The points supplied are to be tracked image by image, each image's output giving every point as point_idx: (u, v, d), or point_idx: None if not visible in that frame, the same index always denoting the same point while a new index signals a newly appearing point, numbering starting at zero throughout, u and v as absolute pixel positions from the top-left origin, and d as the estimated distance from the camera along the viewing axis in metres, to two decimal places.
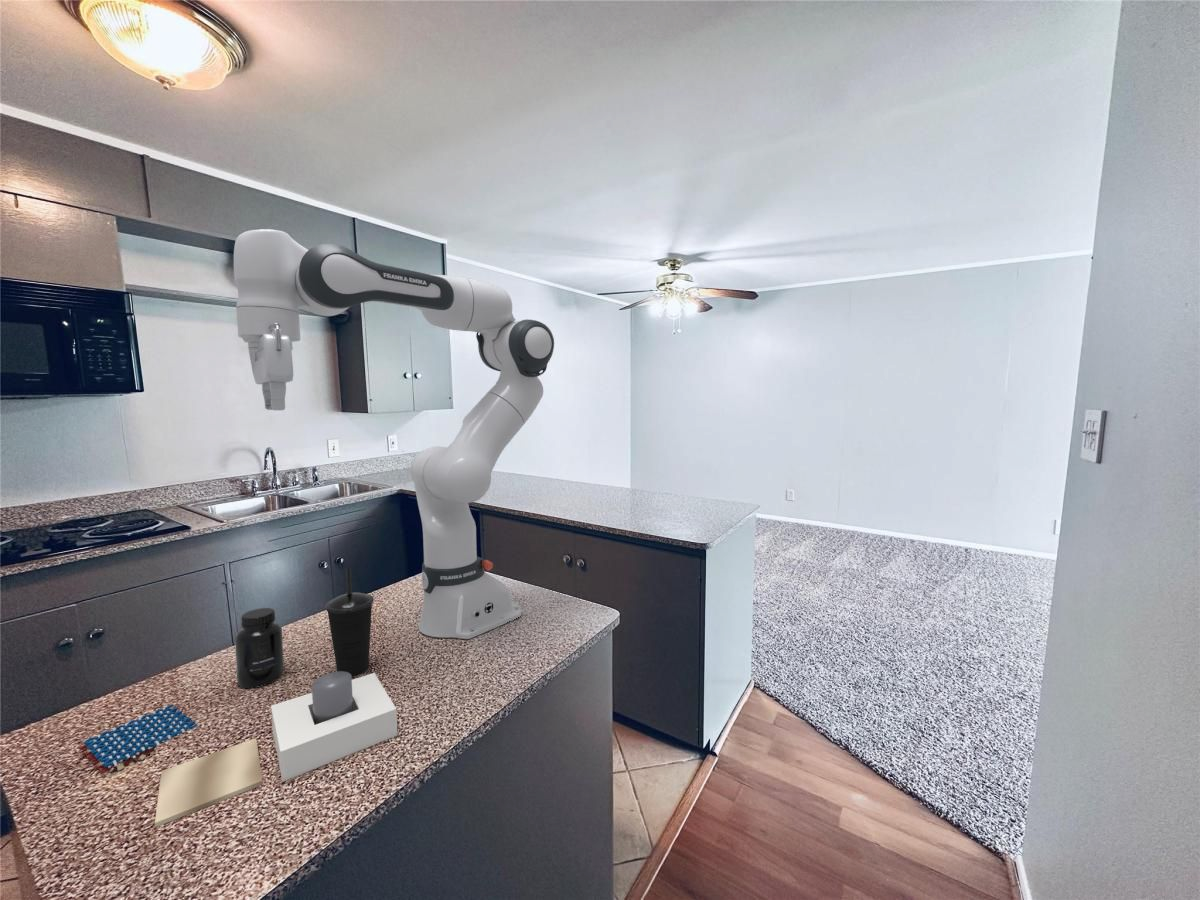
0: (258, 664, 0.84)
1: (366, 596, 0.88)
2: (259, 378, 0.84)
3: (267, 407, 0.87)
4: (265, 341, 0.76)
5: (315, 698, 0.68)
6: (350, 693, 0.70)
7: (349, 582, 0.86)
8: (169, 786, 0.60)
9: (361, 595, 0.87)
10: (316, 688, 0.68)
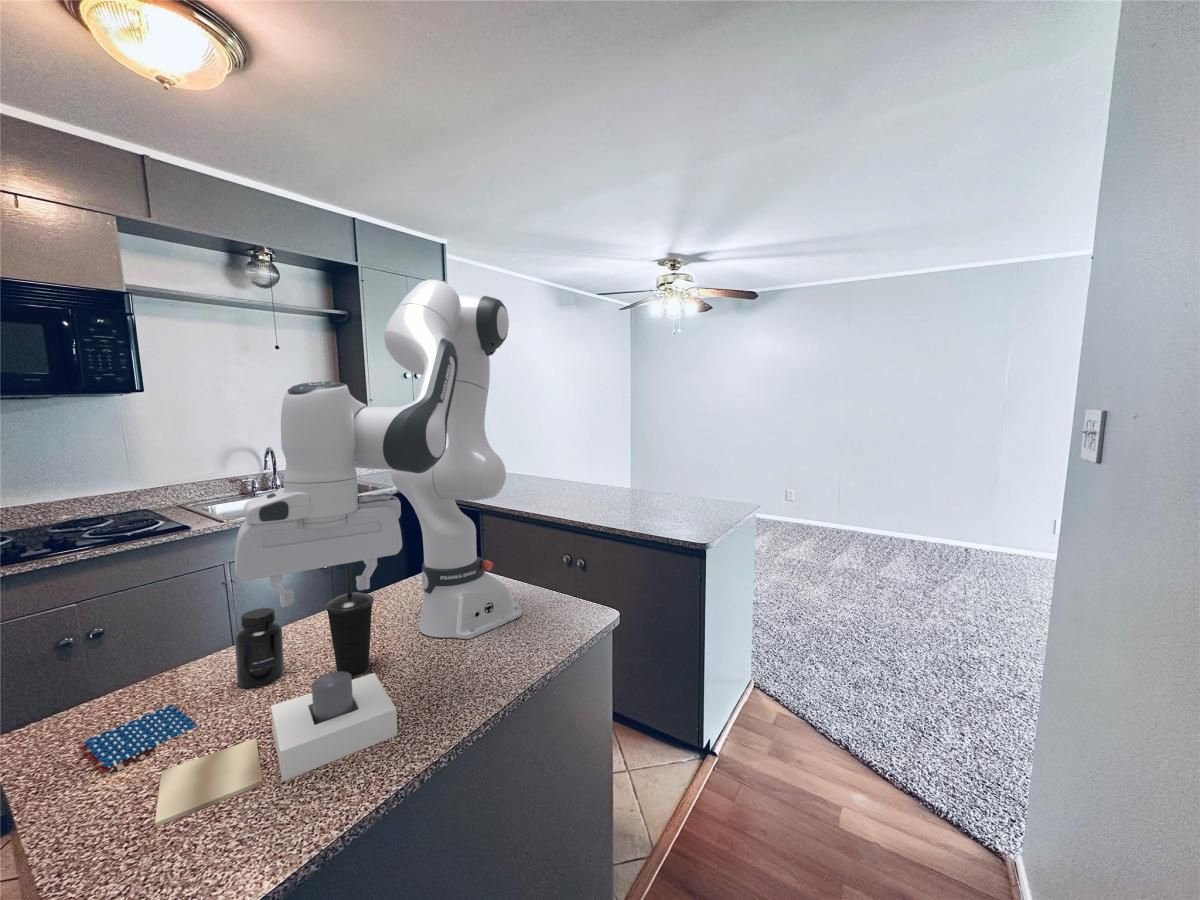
0: (258, 664, 0.83)
1: (366, 596, 0.88)
2: (320, 563, 0.66)
3: (293, 601, 0.66)
4: (395, 514, 0.72)
5: (315, 698, 0.68)
6: (350, 693, 0.70)
7: (349, 582, 0.86)
8: (169, 786, 0.60)
9: (361, 595, 0.87)
10: (316, 688, 0.68)
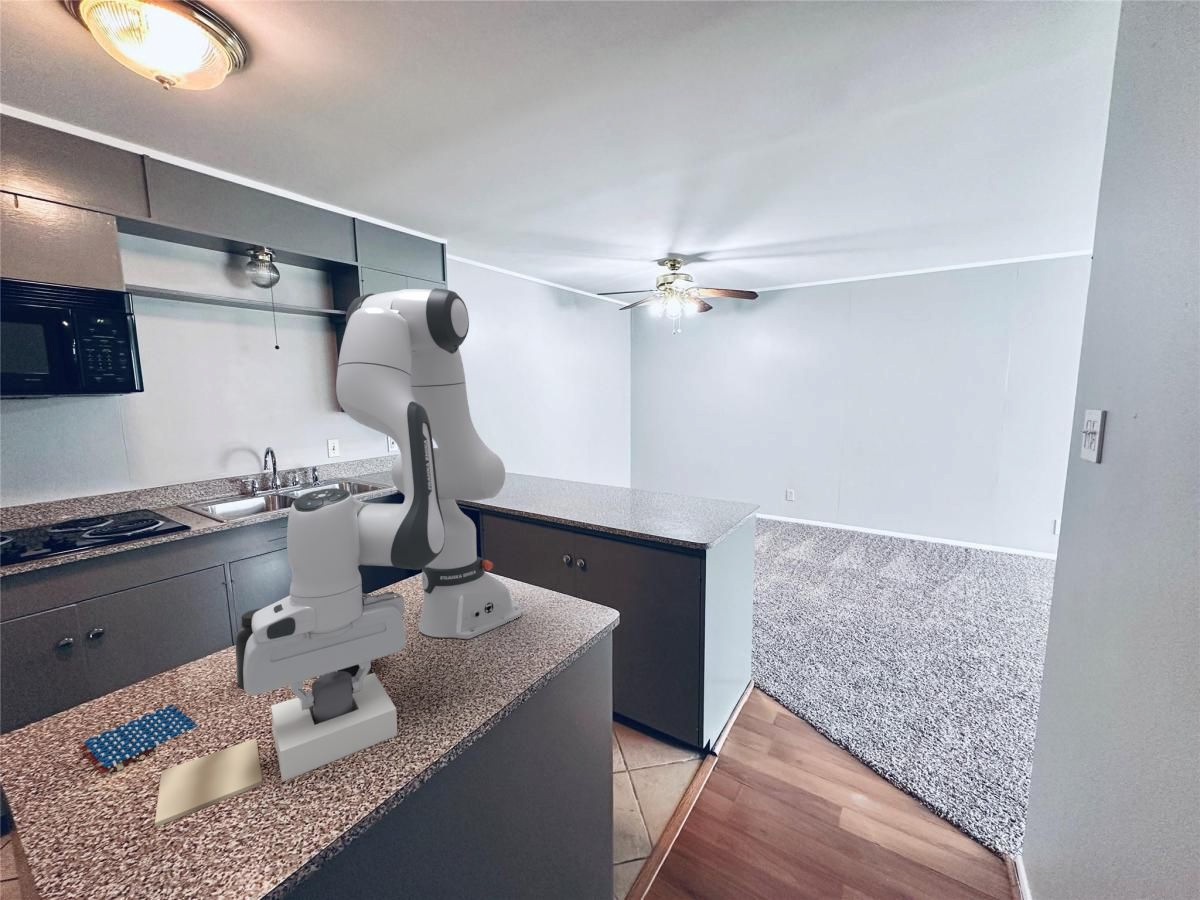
0: None
1: (366, 596, 0.88)
2: (326, 670, 0.68)
3: (313, 704, 0.68)
4: (399, 613, 0.74)
5: (315, 698, 0.68)
6: (350, 693, 0.70)
7: None
8: (169, 786, 0.60)
9: None
10: (316, 688, 0.68)
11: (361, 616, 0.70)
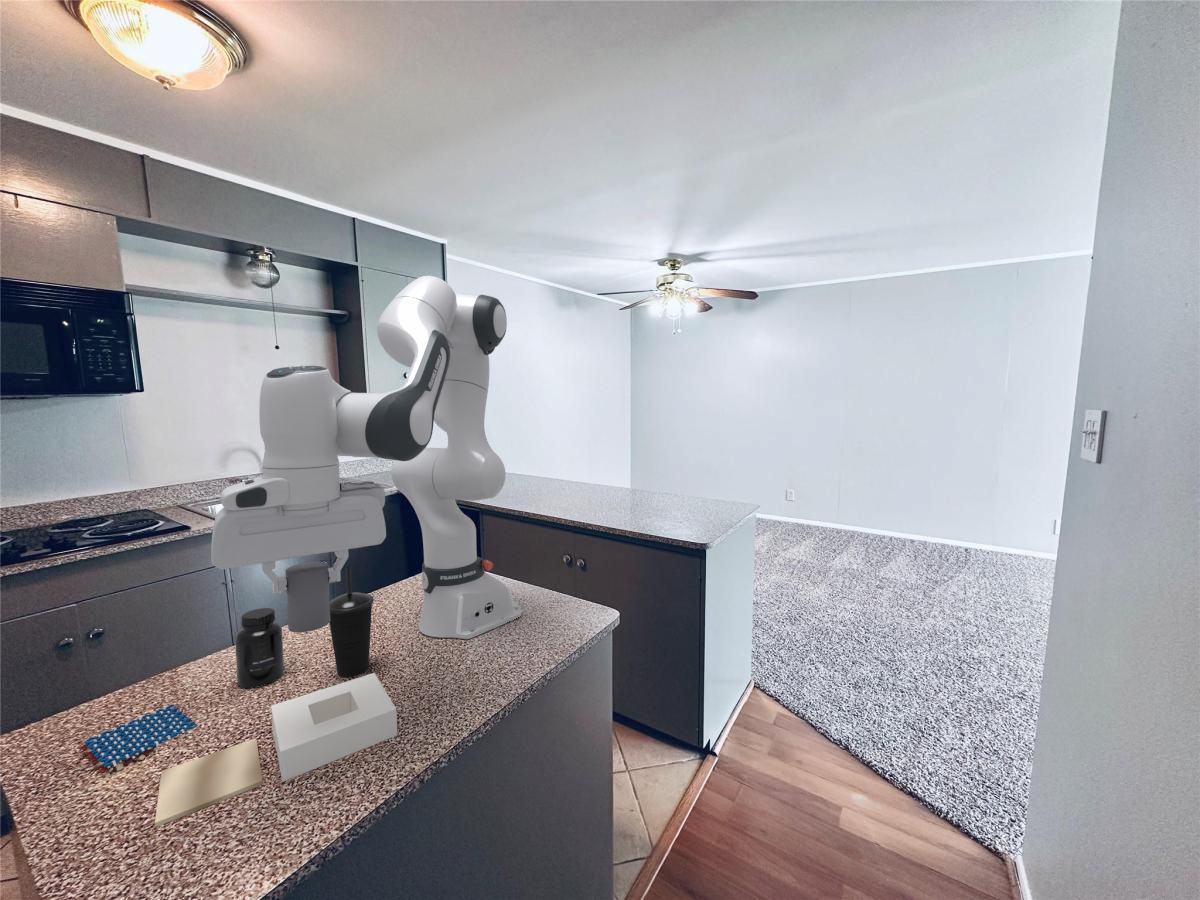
0: (258, 664, 0.84)
1: (366, 596, 0.88)
2: (300, 552, 0.65)
3: (286, 589, 0.65)
4: (379, 503, 0.71)
5: (289, 582, 0.65)
6: (326, 581, 0.67)
7: (349, 582, 0.86)
8: (169, 786, 0.60)
9: (361, 595, 0.87)
10: (289, 572, 0.65)
11: (338, 500, 0.67)
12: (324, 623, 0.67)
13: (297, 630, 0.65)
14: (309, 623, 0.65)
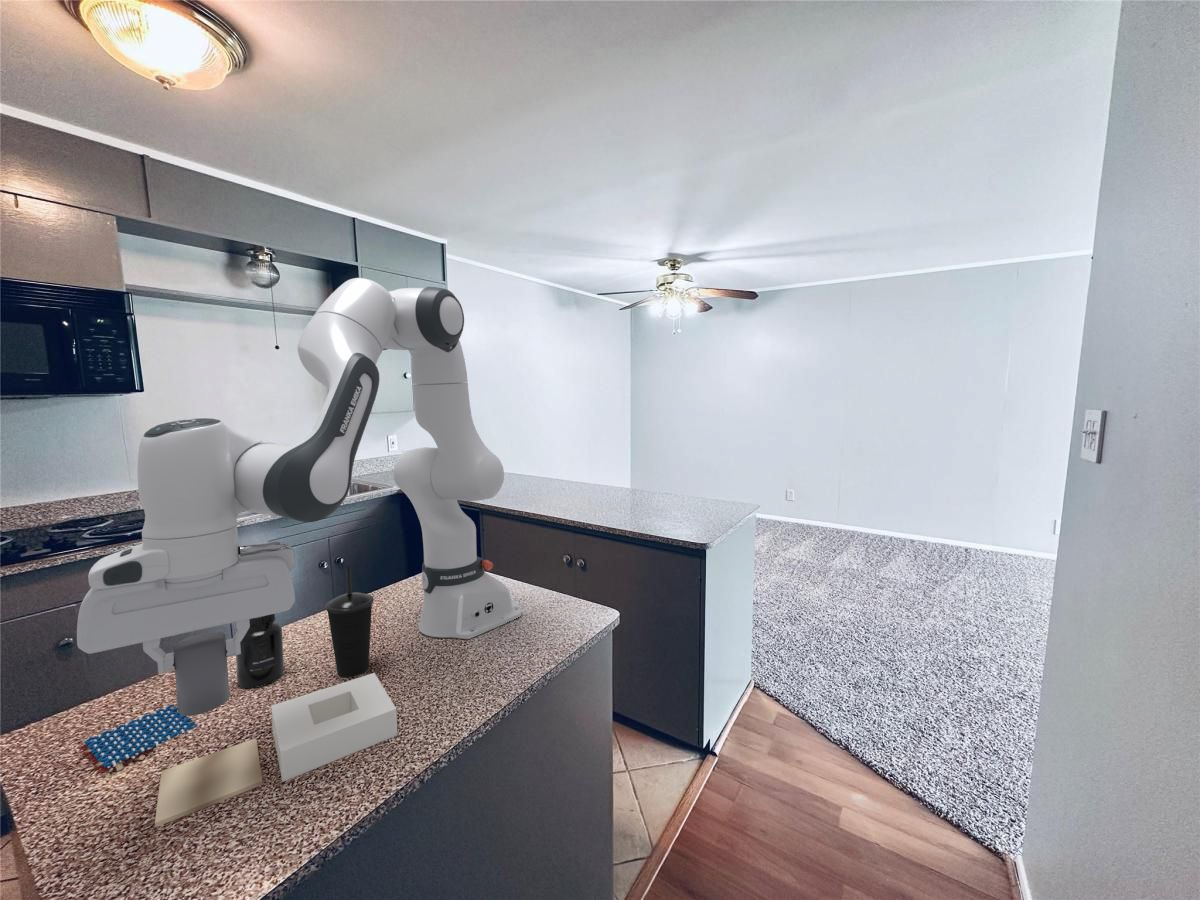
0: (258, 664, 0.84)
1: (366, 596, 0.88)
2: (189, 627, 0.58)
3: (174, 667, 0.58)
4: (285, 566, 0.64)
5: (175, 660, 0.58)
6: (222, 656, 0.61)
7: (349, 582, 0.86)
8: (169, 786, 0.60)
9: (361, 595, 0.87)
10: (177, 649, 0.58)
11: (235, 566, 0.61)
12: (219, 703, 0.60)
13: (186, 713, 0.58)
14: (200, 705, 0.59)
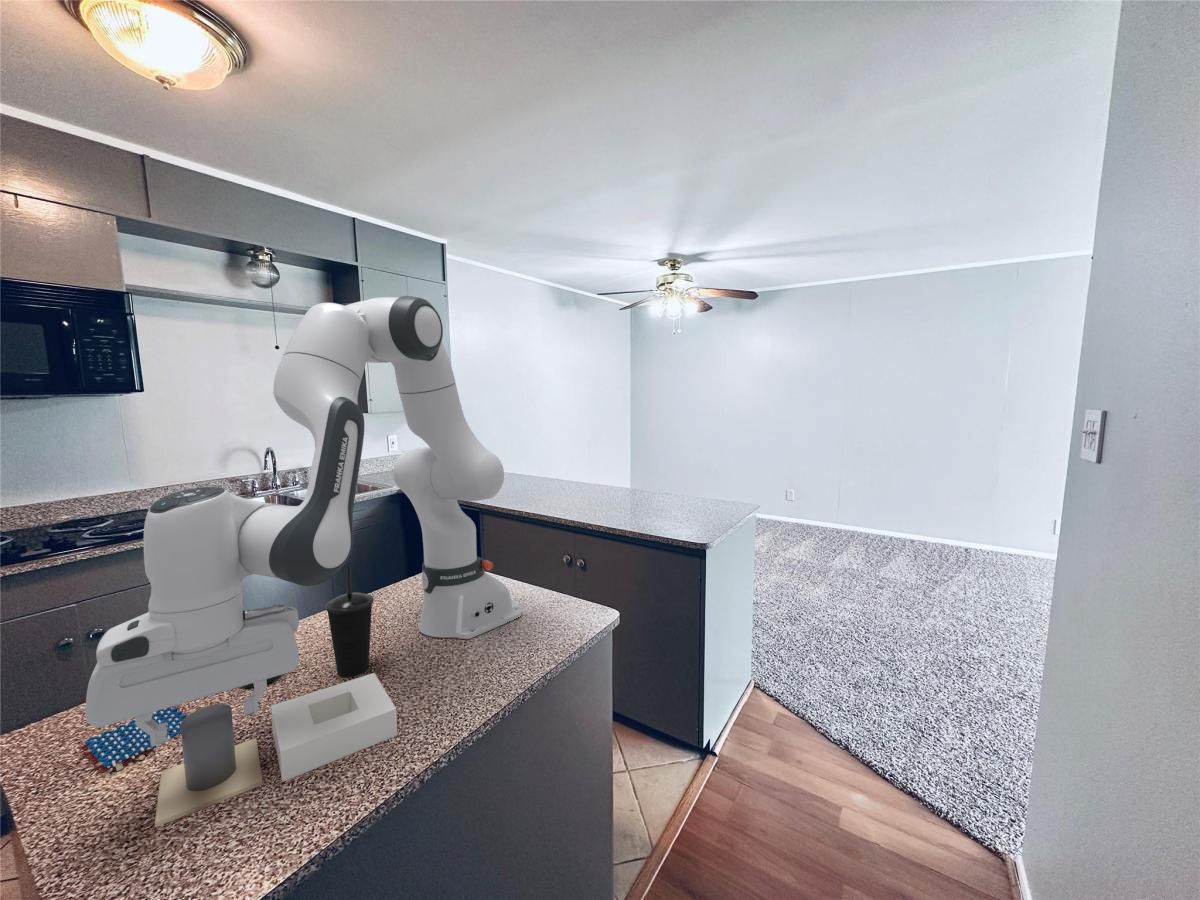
0: None
1: (366, 596, 0.88)
2: (195, 695, 0.59)
3: (166, 739, 0.59)
4: (289, 628, 0.65)
5: (183, 738, 0.59)
6: (228, 730, 0.62)
7: (349, 582, 0.86)
8: (169, 786, 0.60)
9: (361, 595, 0.87)
10: (184, 726, 0.59)
11: (240, 632, 0.61)
12: (226, 776, 0.61)
13: (194, 789, 0.60)
14: (207, 780, 0.60)
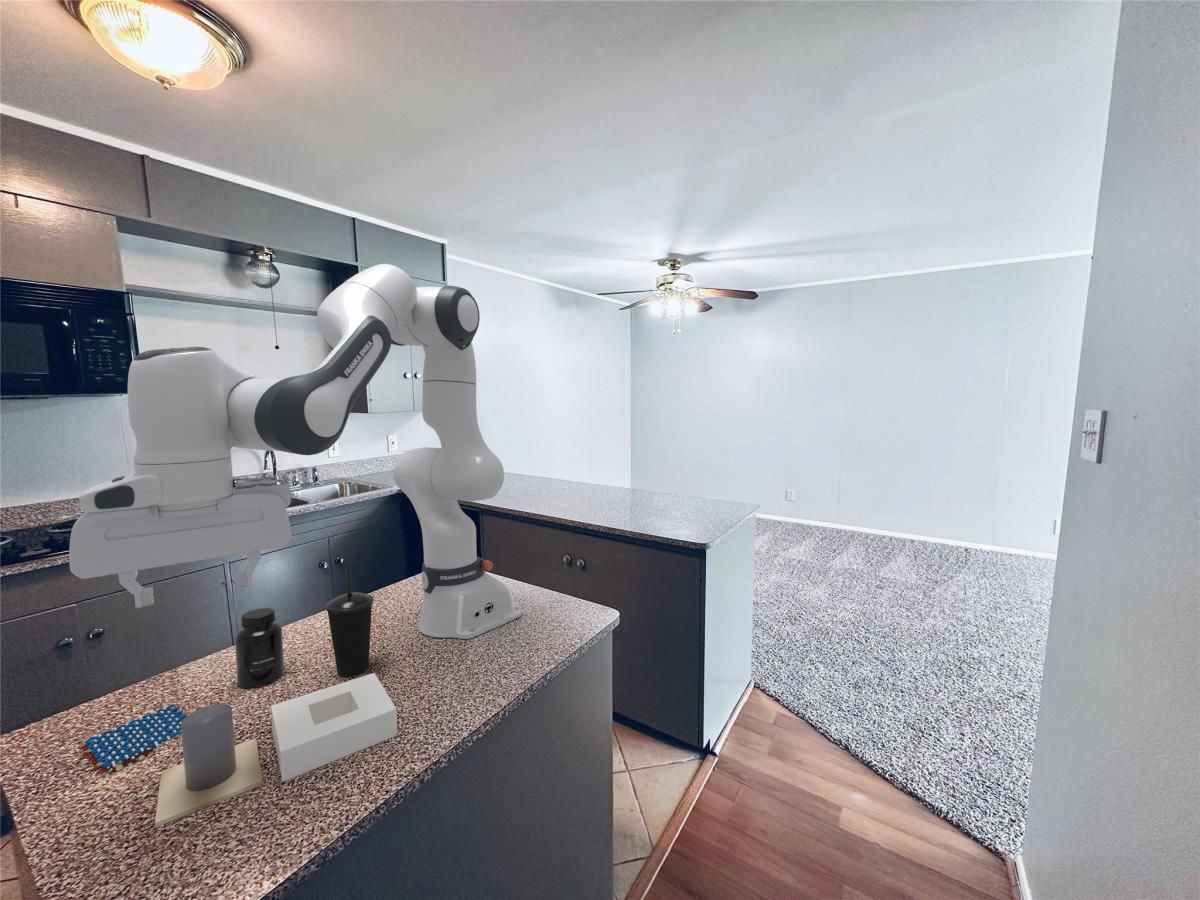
0: (258, 664, 0.84)
1: (366, 596, 0.88)
2: (184, 557, 0.57)
3: None
4: (281, 501, 0.63)
5: (183, 737, 0.59)
6: (228, 730, 0.62)
7: (349, 582, 0.86)
8: (169, 786, 0.60)
9: (361, 595, 0.87)
10: (185, 726, 0.59)
11: (229, 498, 0.60)
12: (226, 776, 0.61)
13: (194, 789, 0.60)
14: (207, 780, 0.60)
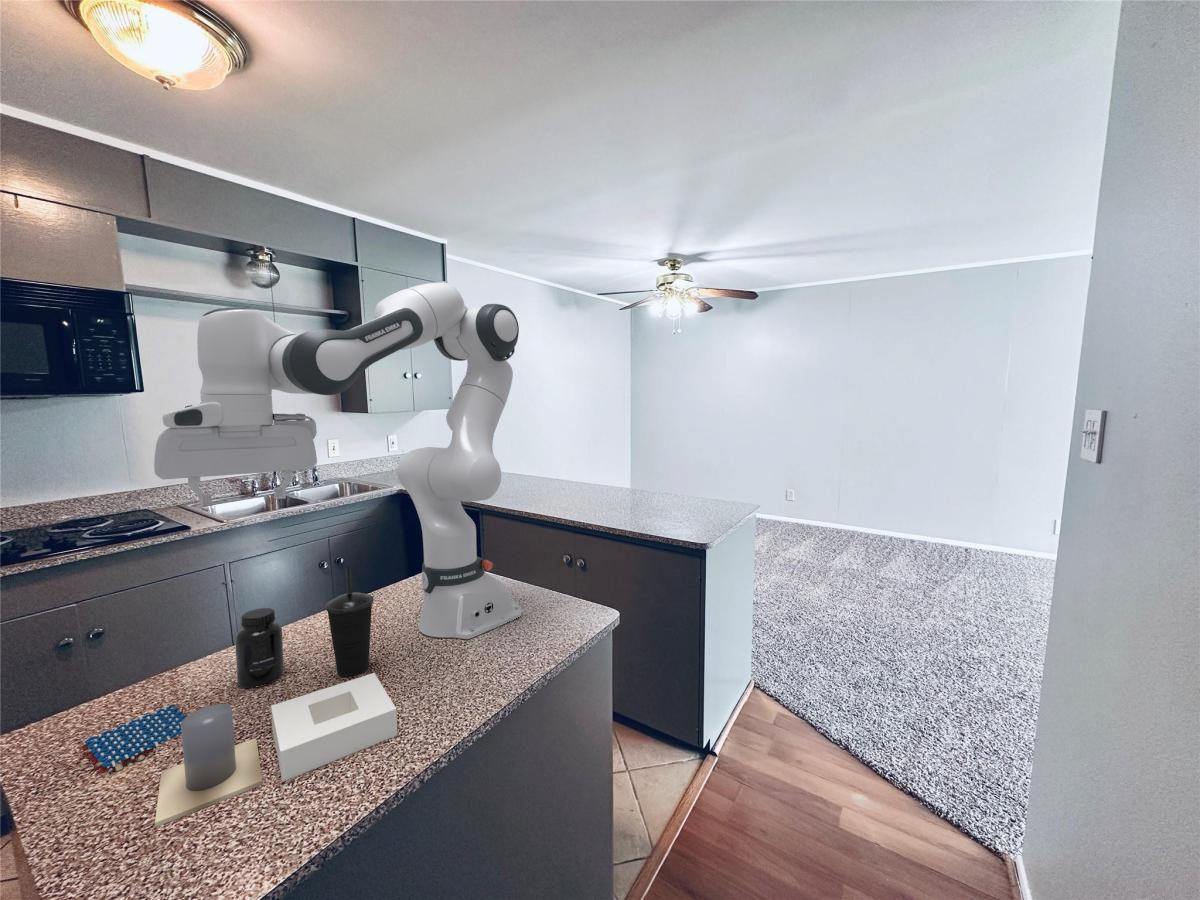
0: (258, 664, 0.84)
1: (366, 596, 0.88)
2: (236, 469, 0.74)
3: (211, 503, 0.74)
4: (309, 432, 0.80)
5: (183, 737, 0.59)
6: (228, 730, 0.62)
7: (349, 582, 0.86)
8: (169, 786, 0.60)
9: (361, 595, 0.87)
10: (184, 726, 0.59)
11: (270, 427, 0.77)
12: (226, 776, 0.61)
13: (194, 789, 0.60)
14: (207, 780, 0.60)
